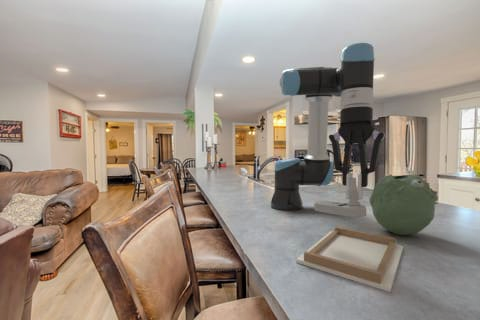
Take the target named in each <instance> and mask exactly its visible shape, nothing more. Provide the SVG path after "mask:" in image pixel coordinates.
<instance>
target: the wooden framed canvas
mask: <svg viewBox="0 0 480 320" xmlns="http://www.w3.org/2000/svg"><path fill="white" fill-rule="evenodd" d="M396 239H397V238H395V237H391V236H387V235H382V234H376V233H371V232H365V231H361V230H356V229H350V228H346V227H340V226H335V227H334V230H333V231H332V230H329V232H328V233H327V234H326V235H324V236H323V237H321V238H320V239H319V240H318V241H317V242H315V243H314V244H313V245H311V247H310V248H308V249H307V250H305V251H304V252H303V253H302V254H301V255H300V256H298V257H297V258H296V260H295V261H296V263H298V264H301V265H304V266H307V267H310V268H313V269H317V270H319V271H323V272H326V273H329V274H333V275H335V276H338V277H342V278H345V279H347V280H351V281H354V282H357V283H360V284H363V285H367V286H370V287H373V288H376V289H379V290H382V291H385V292H389V293H391V291H392V289H393V285H394V282H395V278H396V274H397V271H398V268H399V265H400V261H401V257H402V254H403V250H404V246H403V245H398V244H396V241H397V240H396Z"/></svg>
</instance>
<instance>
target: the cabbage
mask: <svg viewBox="0 0 480 320" xmlns="http://www.w3.org/2000/svg"><path fill="white" fill-rule="evenodd" d="M430 186H431V185H430V183H429V182H427V181H425V180H424V179H423V178H422V176H420V175H419V174H416V173H413V174H412V175H408V174H405V175H404V174H403V175H392V174H389V175H387V176H383V177H382V178H381V179H379V181H377V182H376V183H375V186H374V188H373V189H372V193H371V195H370V197H369V203H370V206H371V208H372V210H371V211H372V214H373V217H374V218H375V220H376V221H377V223H378V224H379V225H380V226H381V227H382V228H383V229H385V230H387V231H389V232H390V233H393V234H395V235H397V236H398V235H399V236H410V235H416V234H418V233H419V232H421V231H423V230H424V229H425V228H427V227H428V226H429V225H430V224H431V222H432V221H433V220H434V218H435V211H436V205H437V204H438V202H437V201H439V197H438V191H436V190H433V189H432V188H431V187H430Z"/></svg>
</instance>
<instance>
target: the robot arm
mask: <svg viewBox="0 0 480 320" xmlns="http://www.w3.org/2000/svg"><path fill="white" fill-rule="evenodd" d="M374 53H375V51H374V46H373V44H370V43H368V42H358V43H353V44H350V45H347V46H346V47H344V48H343V49H342V51H341V56H340V66H339V67H331V66H314V67H298V68H291V69H285V70H283V71H282V73H281V76H280V78H279V86H280V89H281V94H282V95H283V96H290V97H292V96H305V100H306V101H307V102H308V119H307V120H308V121H307V124H308V125H307V151H306V152H307V154H305V156H304V157H303V161H302V160H300V157H299V158H298V157H295V158H285V159H279V160H276V162H275V163H274V189H273V190H274V191H273V195H272V197H271V200H270V207H271V208H272V209H275V210H280V211H298V210H301V209H303V201H302V197H301V194H300V186H316V187H321V186H323V187H324V186H325V187H327V186H329V184H331V182H332V181H333V177H334V171H338V172H341V174H342V185H343V186H346V187H345V188H346V189H345V191H346V192H345V199H346V200H349V198H350V197H349V182H348V178H353V173H351V170H350V169H351V160H352V153H353V147H354V145H356V144H357V146H358V147H357V148H358V155H359V164H360V172H359V173H358V174H357V193H358V197H357V198H358V201H362V200H363V199H364V188H367V187H368V183H369V174H372V173H374V172H376V171H377V168H378V163H379V157H380V151H381V145H382V142H383V141H384V139H385V138H386V134H385V133H384V132H380V131H377V130H376V129H375V126H374V123H373V117H374V116H373V114H374V113H373V112H374V109H373V107H372V106H373V105H374V76H375V75H374V74H375V73H374V69H375V66H374V65H375V54H374ZM333 96H334V97H336V98H340V108H342V109H341V110H340V111H339V113H340V118H339V119H340V120H339V128H338V130H337V132H335V133H333V134H329V136H328V127H329V126H328V123H329V102H330V101H331V100H332V99H333ZM372 135H373V137H372ZM340 137H341V139H342V140H343V141H344V152H343V153H344V154H343V161H342V154H341V146H340ZM371 137H372V139H373V140H374V141H373V147H372V151H371V156H370V157H371V158H370V162H369V165H368V156H367V155H368V154H367V152H368V151H367V141H368V140H369V139H370V138H371ZM328 139H329V140H330V143H331V146H332V147H331V148H332V154H333V161H332V160H331V159H330V156H329V155H327V149H328V148H327V147H328V146H327V145H328ZM333 162H334V163H333ZM334 168H335V170H334Z"/></svg>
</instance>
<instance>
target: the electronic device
mask: <svg viewBox="0 0 480 320" xmlns="http://www.w3.org/2000/svg"><path fill="white" fill-rule="evenodd" d="M348 182H349V197H350V198H349V199H348V202H339V201H334V200H333V201H332V200H331V201H330V200H318V201H314V203H313V205H314V206H313V207H314V208H313V209H314V211H316V212H321V213H327V214H331V215H338V216H342V217H343V216H344V217H347V218H352V219H355V218H356V219H357V218H364V217H366V216H367V206H365V205H364V204H362V203H361V202H360V201H359V200H358V198H357V197H358V193H357V188H358V186H357V178H356V177H352V178H348Z"/></svg>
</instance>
